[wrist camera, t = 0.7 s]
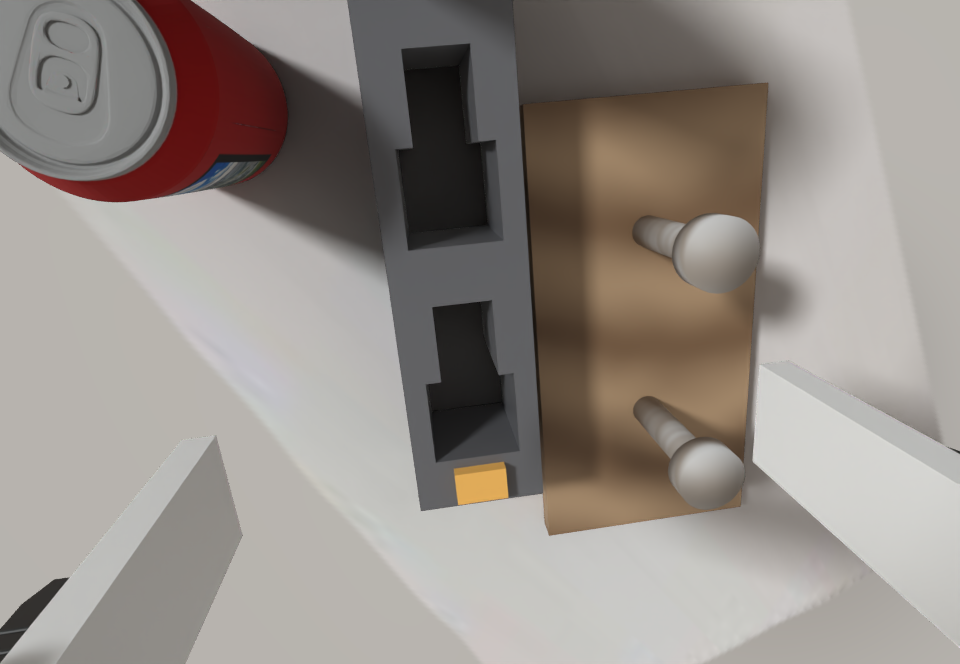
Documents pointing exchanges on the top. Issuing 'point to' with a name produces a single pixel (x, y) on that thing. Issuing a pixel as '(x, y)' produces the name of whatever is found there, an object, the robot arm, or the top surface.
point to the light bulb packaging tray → (456, 243)
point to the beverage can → (134, 98)
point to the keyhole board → (642, 298)
